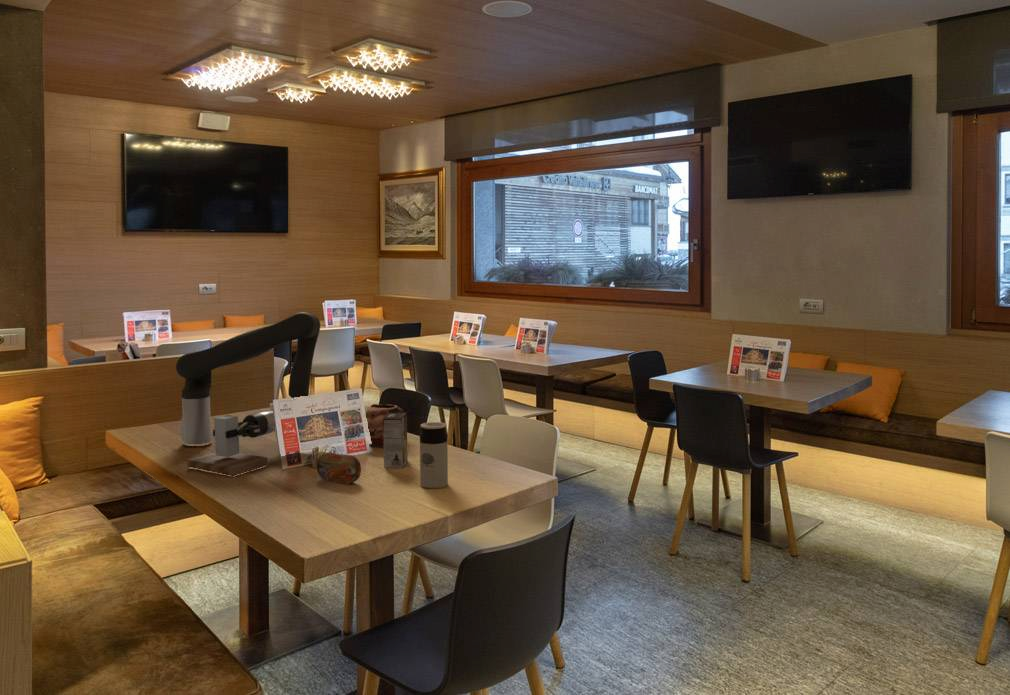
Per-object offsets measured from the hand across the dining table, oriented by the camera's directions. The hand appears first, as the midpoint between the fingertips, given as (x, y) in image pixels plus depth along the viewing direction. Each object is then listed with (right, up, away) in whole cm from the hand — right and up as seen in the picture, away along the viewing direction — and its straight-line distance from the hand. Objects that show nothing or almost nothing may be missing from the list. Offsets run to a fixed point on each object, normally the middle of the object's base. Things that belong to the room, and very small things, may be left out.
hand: (220, 434), depth 241 cm
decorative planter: (+46, -8, +37) cm, 59 cm away
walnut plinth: (+1, -11, +3) cm, 12 cm away
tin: (+40, -13, -12) cm, 43 cm away
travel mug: (+68, -13, -16) cm, 71 cm away
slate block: (+1, -7, +3) cm, 7 cm away
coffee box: (+54, -11, +8) cm, 55 cm away
